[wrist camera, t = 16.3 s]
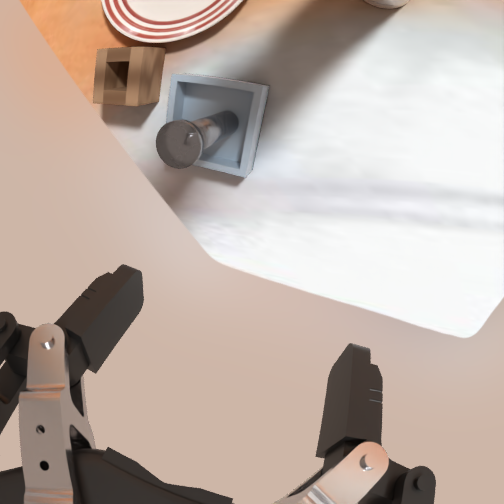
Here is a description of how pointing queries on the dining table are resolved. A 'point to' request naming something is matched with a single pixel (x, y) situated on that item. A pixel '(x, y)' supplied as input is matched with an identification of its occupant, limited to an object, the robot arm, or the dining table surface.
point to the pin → (193, 137)
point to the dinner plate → (165, 17)
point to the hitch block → (128, 75)
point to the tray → (217, 100)
